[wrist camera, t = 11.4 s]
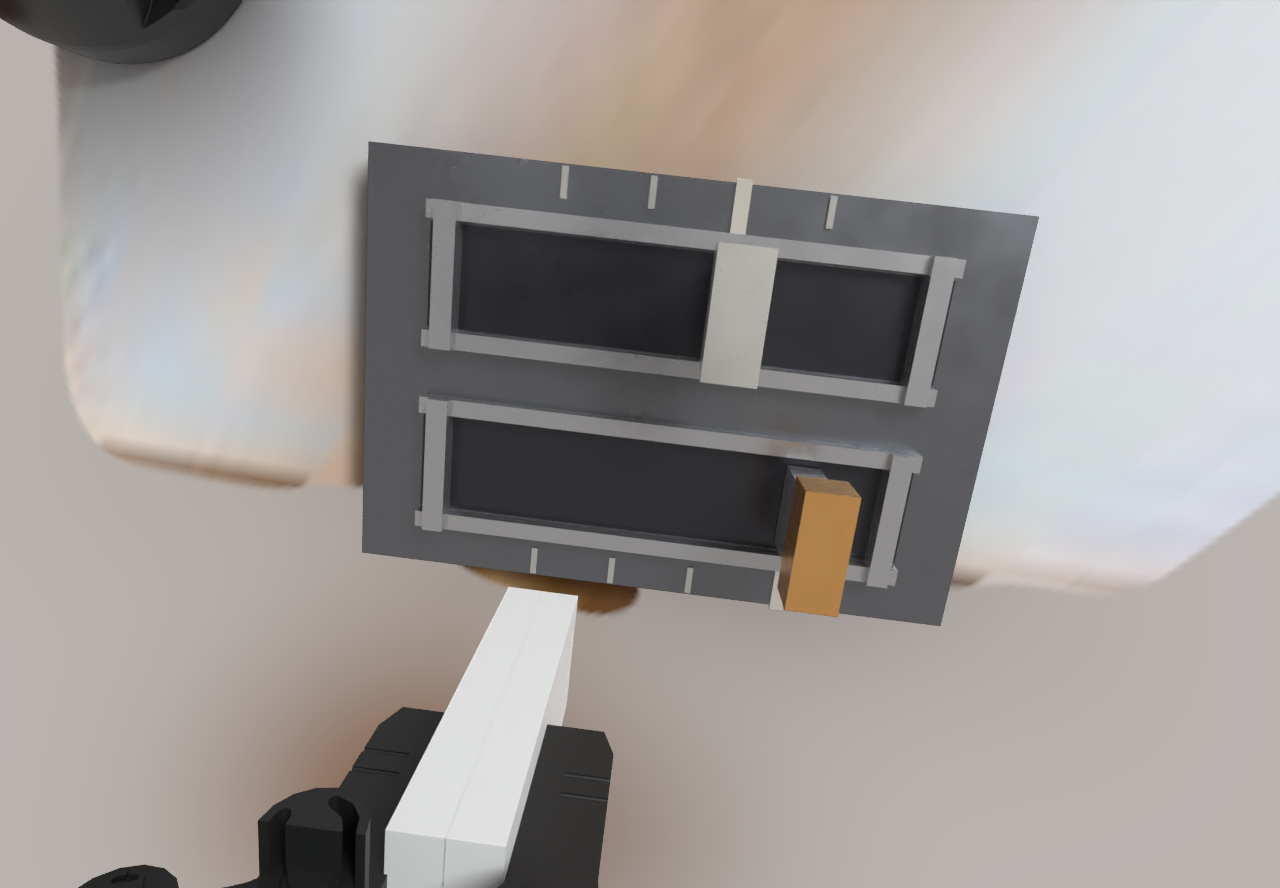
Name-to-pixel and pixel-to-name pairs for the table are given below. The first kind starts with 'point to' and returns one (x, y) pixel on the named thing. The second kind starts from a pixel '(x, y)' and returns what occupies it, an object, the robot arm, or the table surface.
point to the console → (671, 375)
